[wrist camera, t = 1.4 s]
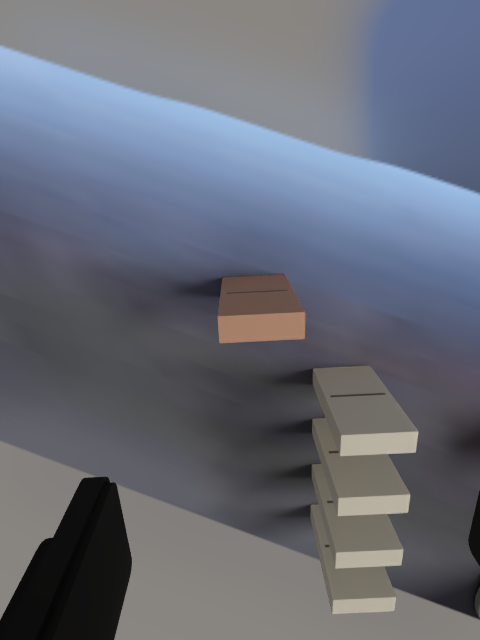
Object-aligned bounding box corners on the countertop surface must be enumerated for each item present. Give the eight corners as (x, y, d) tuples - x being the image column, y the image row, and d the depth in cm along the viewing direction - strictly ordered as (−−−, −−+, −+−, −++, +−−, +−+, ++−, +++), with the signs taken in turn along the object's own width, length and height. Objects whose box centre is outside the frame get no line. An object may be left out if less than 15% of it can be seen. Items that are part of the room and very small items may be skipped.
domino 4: (361, 475, 36) (401, 565, 28) (311, 477, 36) (335, 568, 28) (363, 461, 35) (403, 549, 27) (311, 464, 35) (336, 552, 27)
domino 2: (368, 382, 33) (415, 452, 24) (312, 385, 33) (340, 456, 24) (369, 365, 32) (418, 431, 24) (312, 368, 32) (341, 435, 24)
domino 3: (364, 431, 34) (407, 512, 26) (312, 433, 34) (337, 516, 26) (366, 416, 34) (410, 494, 25) (312, 418, 34) (338, 497, 25)
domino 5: (358, 514, 38) (394, 611, 29) (310, 517, 38) (332, 614, 29) (359, 502, 37) (396, 597, 29) (310, 504, 37) (333, 600, 29)
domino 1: (284, 294, 30) (304, 339, 21) (223, 297, 30) (219, 343, 21) (284, 274, 29) (305, 311, 21) (222, 277, 29) (217, 316, 21)
